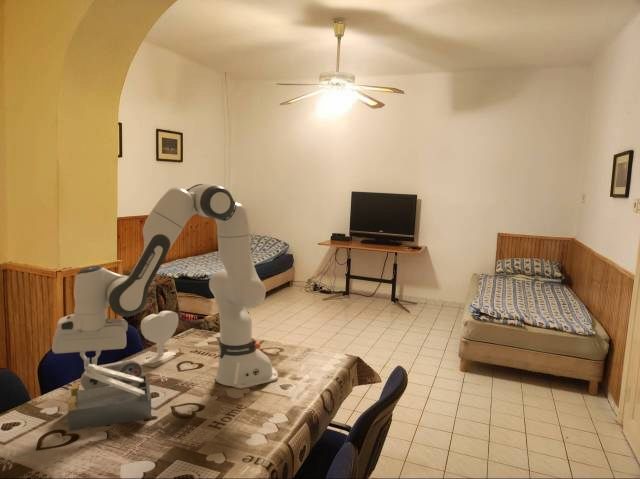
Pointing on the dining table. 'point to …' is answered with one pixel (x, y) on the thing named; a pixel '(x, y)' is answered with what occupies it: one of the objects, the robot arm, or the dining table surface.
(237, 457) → the dining table surface
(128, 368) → the game controller
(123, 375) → the strap far
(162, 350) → the heart sculpture
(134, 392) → the strap near
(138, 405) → the grey boxy piece
